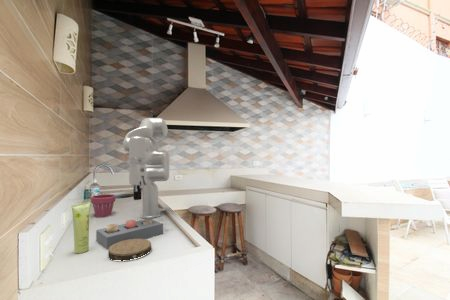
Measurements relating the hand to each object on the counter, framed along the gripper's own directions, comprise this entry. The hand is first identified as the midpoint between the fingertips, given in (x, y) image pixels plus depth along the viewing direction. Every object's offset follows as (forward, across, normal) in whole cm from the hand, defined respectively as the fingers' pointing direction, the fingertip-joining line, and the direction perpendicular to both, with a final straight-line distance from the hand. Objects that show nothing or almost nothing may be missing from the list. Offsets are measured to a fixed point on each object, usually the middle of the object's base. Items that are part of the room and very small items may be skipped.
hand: (137, 199), depth 113 cm
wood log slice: (+18, -16, +11) cm, 27 cm away
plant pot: (+17, +54, -3) cm, 57 cm away
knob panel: (+18, 0, +3) cm, 18 cm away
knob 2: (+17, 0, -5) cm, 17 cm away
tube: (+18, 0, +24) cm, 30 cm away
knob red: (+14, 0, +3) cm, 15 cm away
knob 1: (+15, +1, +12) cm, 19 cm away
